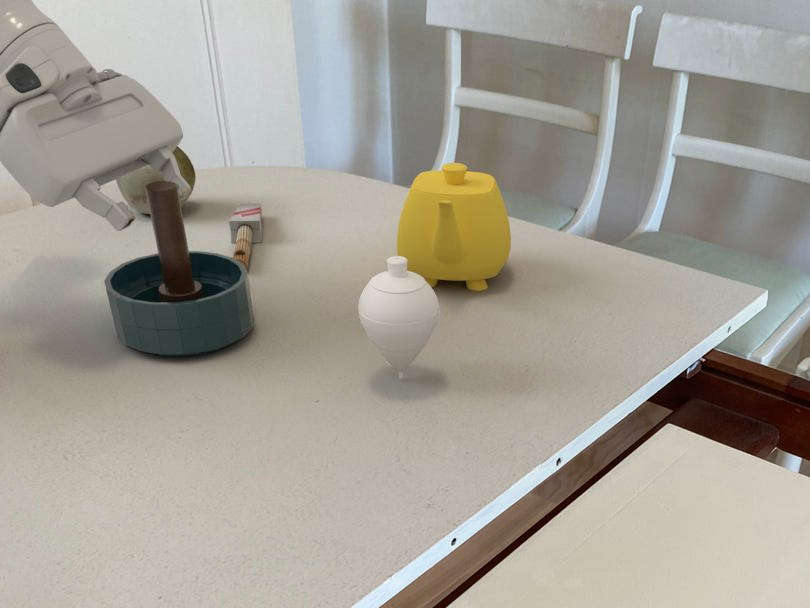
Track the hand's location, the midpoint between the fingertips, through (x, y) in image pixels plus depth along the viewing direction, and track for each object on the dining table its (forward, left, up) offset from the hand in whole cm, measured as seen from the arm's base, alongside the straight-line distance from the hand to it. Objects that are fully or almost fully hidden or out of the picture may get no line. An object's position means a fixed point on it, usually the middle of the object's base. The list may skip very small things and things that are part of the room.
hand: (157, 210), depth 95 cm
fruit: (-9, +38, -13) cm, 41 cm away
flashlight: (+1, 0, -12) cm, 12 cm away
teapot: (+30, +15, -13) cm, 36 cm away
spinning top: (+24, -11, -13) cm, 29 cm away
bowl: (+1, 0, -13) cm, 13 cm away
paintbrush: (+4, +26, -13) cm, 29 cm away
